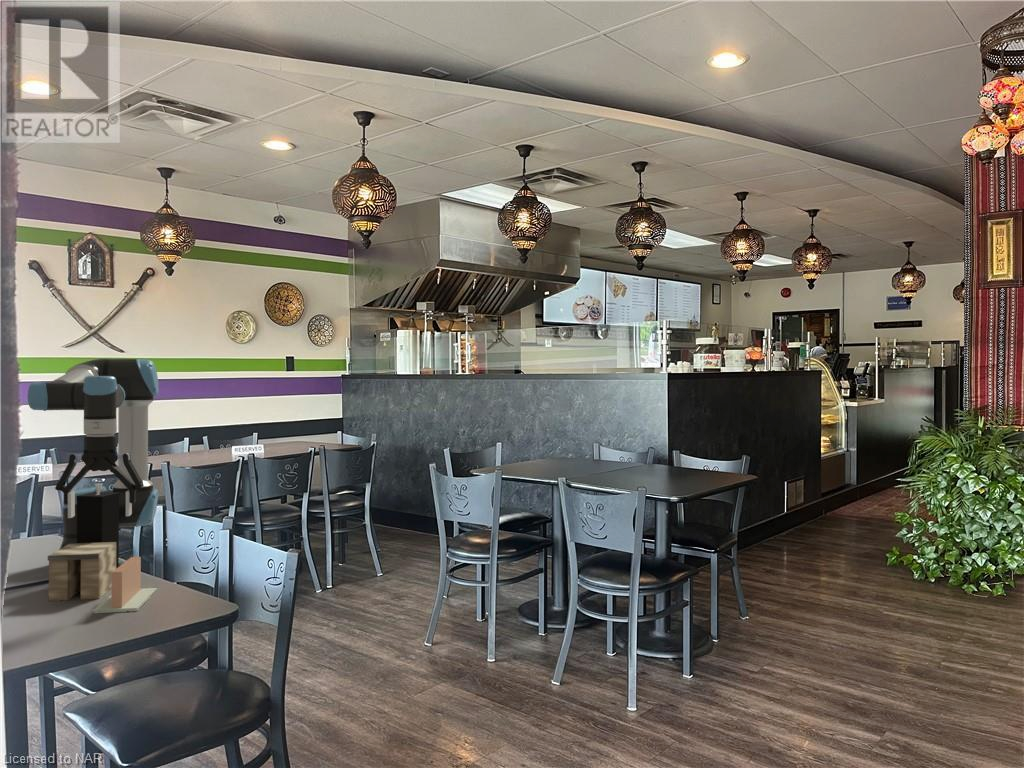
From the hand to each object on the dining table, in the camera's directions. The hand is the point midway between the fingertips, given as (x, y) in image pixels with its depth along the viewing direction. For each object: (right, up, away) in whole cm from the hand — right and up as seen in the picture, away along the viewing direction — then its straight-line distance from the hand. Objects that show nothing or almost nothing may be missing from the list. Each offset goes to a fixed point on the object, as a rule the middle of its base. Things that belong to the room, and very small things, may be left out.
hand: (100, 516), depth 190 cm
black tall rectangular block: (-13, -22, +22) cm, 34 cm away
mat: (+7, -22, +1) cm, 23 cm away
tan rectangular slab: (+7, -22, +1) cm, 23 cm away
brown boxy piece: (-9, -22, +9) cm, 26 cm away
